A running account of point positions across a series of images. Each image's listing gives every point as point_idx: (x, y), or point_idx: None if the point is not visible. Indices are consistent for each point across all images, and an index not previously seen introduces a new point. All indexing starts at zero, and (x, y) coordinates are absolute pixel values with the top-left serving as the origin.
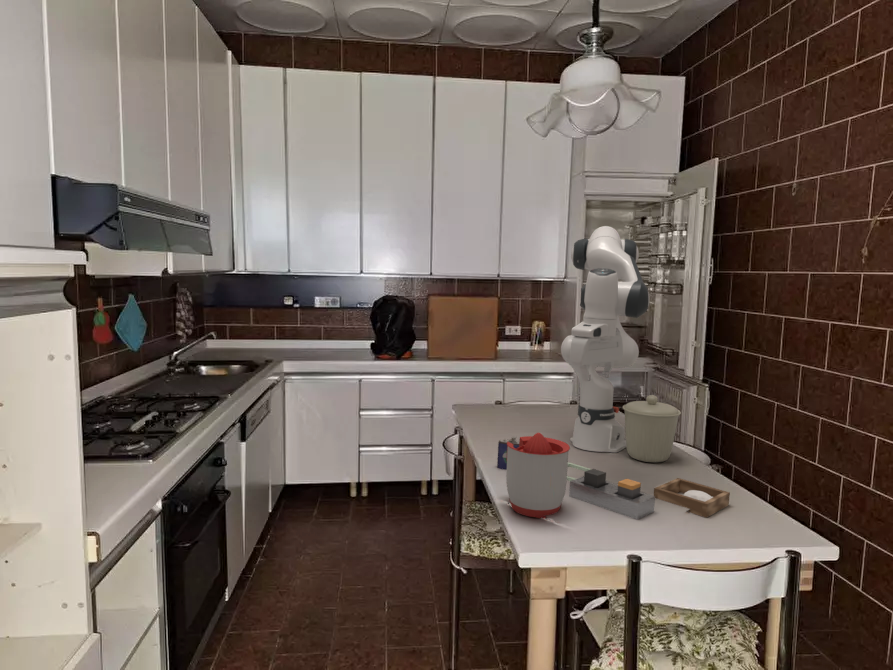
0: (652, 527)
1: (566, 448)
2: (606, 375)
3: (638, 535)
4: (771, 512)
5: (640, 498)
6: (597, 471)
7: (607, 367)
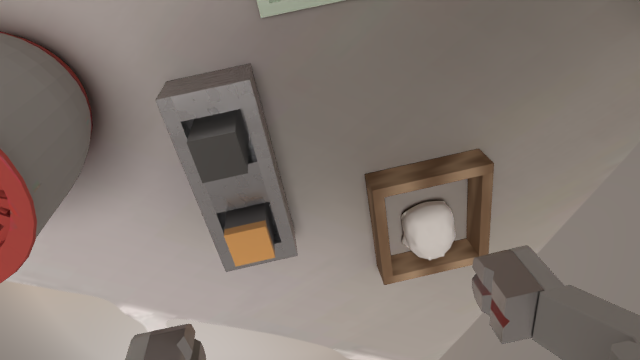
0: None
1: (9, 258)
2: (484, 306)
3: (190, 275)
4: None
5: None
6: (228, 156)
7: (584, 341)
